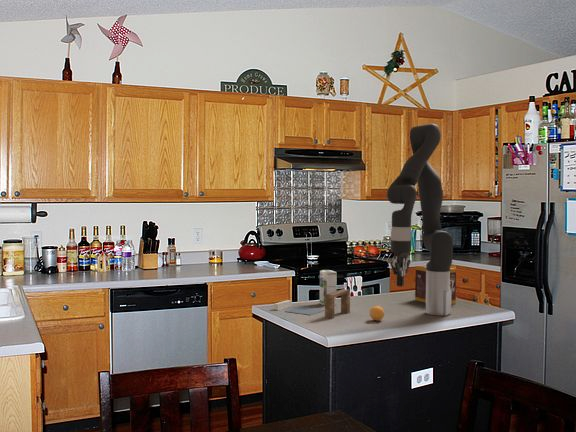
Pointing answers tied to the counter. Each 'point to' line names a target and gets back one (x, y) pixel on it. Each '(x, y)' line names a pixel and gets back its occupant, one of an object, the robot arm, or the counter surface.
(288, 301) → the beige thin bar
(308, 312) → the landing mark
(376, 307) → the ball
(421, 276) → the supplement box
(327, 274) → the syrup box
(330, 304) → the bridge
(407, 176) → the robot arm
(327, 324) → the counter surface
